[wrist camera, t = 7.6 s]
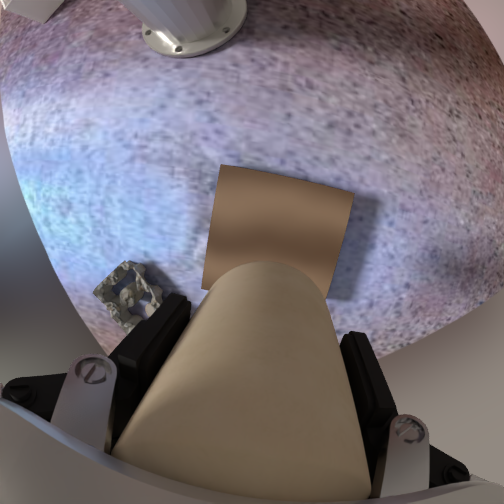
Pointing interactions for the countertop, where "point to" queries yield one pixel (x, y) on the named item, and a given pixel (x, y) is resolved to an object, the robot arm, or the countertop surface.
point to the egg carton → (127, 295)
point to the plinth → (275, 224)
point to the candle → (254, 397)
